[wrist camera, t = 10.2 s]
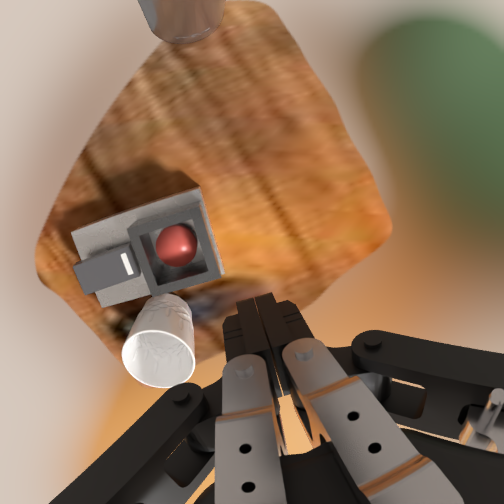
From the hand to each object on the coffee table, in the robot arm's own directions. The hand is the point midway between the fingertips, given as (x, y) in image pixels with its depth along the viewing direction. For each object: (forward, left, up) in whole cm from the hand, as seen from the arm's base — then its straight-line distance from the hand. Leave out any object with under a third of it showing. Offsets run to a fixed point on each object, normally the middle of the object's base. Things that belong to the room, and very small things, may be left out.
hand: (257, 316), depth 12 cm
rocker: (+1, -14, -20) cm, 24 cm away
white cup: (+11, -11, -25) cm, 29 cm away
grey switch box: (+1, -10, -25) cm, 27 cm away
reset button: (+1, -6, -21) cm, 22 cm away
